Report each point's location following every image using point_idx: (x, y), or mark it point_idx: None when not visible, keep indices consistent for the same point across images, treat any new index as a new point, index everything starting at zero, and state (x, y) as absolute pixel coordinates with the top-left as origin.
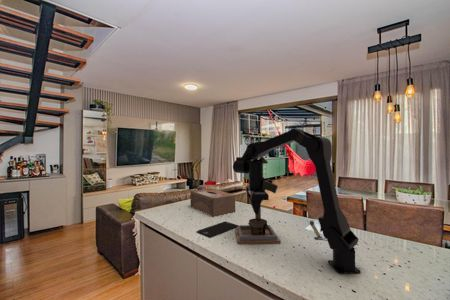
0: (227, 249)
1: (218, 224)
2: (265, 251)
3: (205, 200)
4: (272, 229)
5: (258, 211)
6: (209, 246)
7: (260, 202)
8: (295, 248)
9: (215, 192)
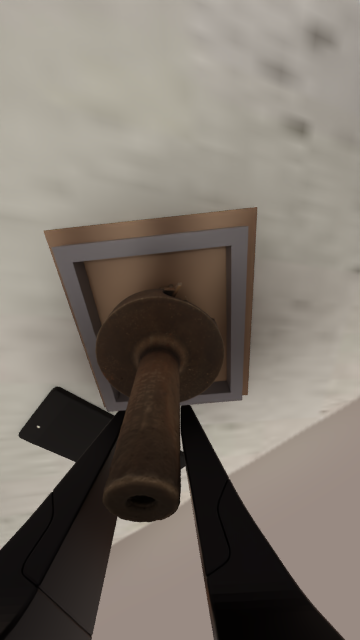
0: (279, 411)
1: (68, 453)
2: (320, 295)
3: None
4: (136, 240)
5: (201, 426)
6: (253, 451)
7: (287, 579)
8: (321, 120)
9: None
